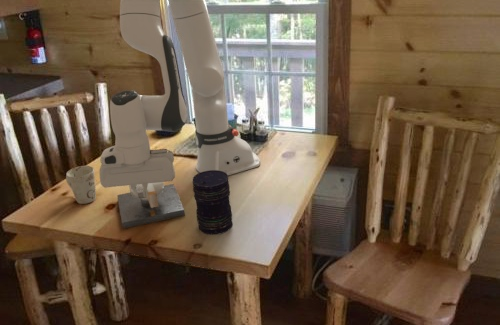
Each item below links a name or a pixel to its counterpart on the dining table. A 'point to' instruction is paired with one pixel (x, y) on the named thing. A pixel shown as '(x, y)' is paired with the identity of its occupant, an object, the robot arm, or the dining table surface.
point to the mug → (82, 183)
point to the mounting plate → (142, 213)
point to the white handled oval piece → (150, 192)
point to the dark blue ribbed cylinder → (212, 202)
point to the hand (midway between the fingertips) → (141, 196)
